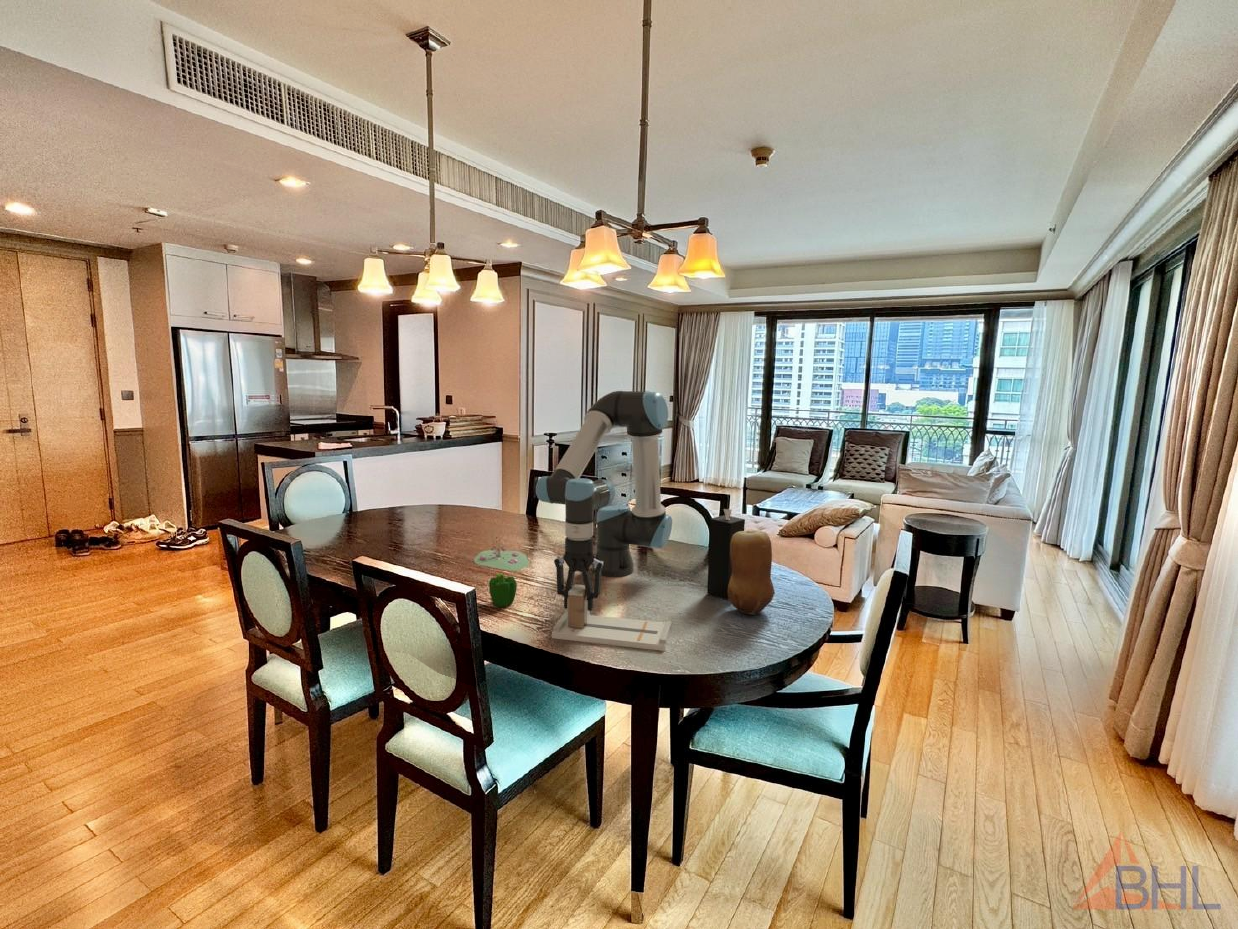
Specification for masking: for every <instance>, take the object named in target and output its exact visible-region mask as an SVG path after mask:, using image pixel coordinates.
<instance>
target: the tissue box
mask: <svg viewBox="0 0 1238 929" xmlns="http://www.w3.org/2000/svg"><path fill="white" fill-rule="evenodd" d="M732 511H733V510H732V509H730V508H728V509H727V508H723V512H724V514H723V515H719V516H716V517H711V518H710V519H709V538H708V540H709V544H708V565H707V566H708V568H707V571H708V572H707V588H706V593H707V594H709V595H712V596H715V597H718V598H721V599H724V600H729V597H728V585H729V581H730V578H731V575H732V564H731V557H730V542H731V538H732V536H733V534H735V533H737V532H739V531H745V525H746V519H745V518H741V517H735V516H731V514H732Z"/></svg>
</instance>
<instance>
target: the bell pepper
mask: <svg viewBox="0 0 1238 929" xmlns="http://www.w3.org/2000/svg"><path fill="white" fill-rule="evenodd" d="M517 584H518V583H517V581H516V579H515V578H514V577H513V576H512V575H511V576H504V574H503V573H500V572H499V573H498V574H497V575H496V576H495V577H491V578H490V580H489V584H488V585H489V587H488V588H489V589H488V590H489V593H490V594H489V595H490V598H491V601H492V603H493V605H494V606H496V607H499V608H501V607H502V608H503V607H506V606H508V605H512V604H513V603H514V601H515V598H516V594H517V590H518V589H517V588H518V587H517V586H518V585H517Z"/></svg>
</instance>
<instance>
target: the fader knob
mask: <svg viewBox="0 0 1238 929" xmlns="http://www.w3.org/2000/svg"><path fill="white" fill-rule="evenodd" d="M586 597H587V595H586V589H585V584H576V583H575V584H573V585H572V588H571V589H570V591H569V592H568V627H574V628H583V627H584V625H585V624H586V623H584V600H585V599H586Z"/></svg>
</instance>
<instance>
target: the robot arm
mask: <svg viewBox="0 0 1238 929" xmlns="http://www.w3.org/2000/svg"><path fill="white" fill-rule="evenodd" d="M668 407H669V406H668V404H667V401H666V399H665V397H664V395H663V394H661V393H660V392H656V391H655V392H654V391H653V392H652V391H648V390H646V391H645V390H644V391H640V390H639V391H638V390H637V391H635V390H634V391H633V390H631V391H630V390H628V391H627V390H616V391H611V392H609V393H607V394H605V395H604V396H602V397H600V398H599V399H598V400H597V401H595V402H594V403H593V404H591V407H590V408H589V409H588V410H587V411H586V414H585V415H584V417H583V418H584V419H583V421H584V423H583V424H582V425H581V427H580V428H579V430H578V432H577V433H576V436H575V437H574V439H573V440H572V442H571V443H570V445H569V447H568V448H567V450H566V451H565V453H564V454H563V456H562V458H561V459H560V460H559V463H558V464H557V466H556V467H555V469H554V470H553V472H552V474H551V475H550V476H549V475H546V476H544V475H543V476H541V477H539V479H538V480H537V482H536V485H535V495H536V497H537V499H538V500H539V501H541V502H543V503H549V504H555V505H565V512H564V513H565V514H564V515H565V517H564V520H565V521H564V526H565V527H564V528H565V529H564V533H565V540H564V554H563V556H557V557H556V558H555V559H554V560H553V562H554V565H555V568H556V592H557V595H559V596H560V595H561V596H562V597H563V607H564V609H566V611H567V621H568V592H569V591H570V589H571V588H572V587H573V584H574V583H573V582H574V578H575V574H576V572H580V573H581V576H582V578H583V583H584V584H583V585H585V589H586V595H587V597H586V599H585V600H584V623H588V621H589V620H590V615H591V614H590V613H591V611H593V609H594V599H598V598H599V596H601V584H602V576H604V577H605V576H606V577H623V576H627V575H630V574H632V573H633V572H634V569H635V564H634V561H633V559H632V558H633V557H632V554H631V551H630V546H638V547H645V548H650V549H653V548H654V549H662V548H664V547H665V546H666V545H667V543H668V542H669V539H670V536H671V533H672V527H673V518H672V516H671V515H669V514H666V507H665V506H664V505H663V504H662V503H661V502H662V499H661V498H662V497H661V479H660V478H661V477H660V457H659V456H660V452H659V450H660V449H659V437H660V436H661V434H663V429H666V427H667V426H668V422H669V421H668V419H669V409H668ZM616 427H621V428H622V427H623V428H626V434H627V436H628V437H629V438H630V439H631V444H632V446H631V447H632V448H631V449H632V450H631V451H632V464H633V482H634V497H635V498H634V499H635V502H634V503H635V505H634V506H633V507H632V508H631V506H630V505H627V504H615V505H609V504H610V503H611V504H612V502H613V500H614V498H615V494H616V491H615V486H614V485H613V484H612V483H611V481H609V480H607V479H596V480H592V479H589V478H581V476H582V474H583V473H584V471H585V469H586V468H587V466H588V464H589V462H590V461H591V458H592V457H593V455H594V454H595V452H596V451H597V448H598V446H600V443H601V442H602V439H603V438H604V437H605V435H607V434H609V433H611V431H612V430H613V428H616ZM608 505H609V506H608ZM596 510H598V511H597V513H596V514H597V515H596V521H595V522H596V550H595V552H594V537H593V536H594V512H595V511H596ZM564 564H566V565H567V567H568V571H567V579H566V582H565V573H564V571H565V570H564ZM590 567H591V571H592V572H593V574H594V580H593V581H594V585H593V583H592V577H591V574H590V572H591V571H590Z"/></svg>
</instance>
